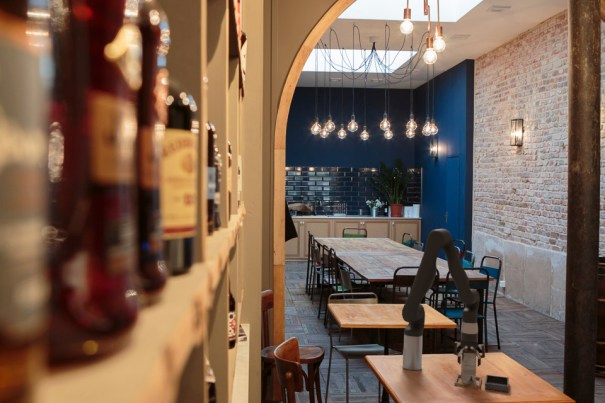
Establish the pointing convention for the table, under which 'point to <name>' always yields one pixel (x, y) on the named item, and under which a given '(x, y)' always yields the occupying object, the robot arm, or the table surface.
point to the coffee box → (468, 367)
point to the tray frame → (468, 384)
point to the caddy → (497, 383)
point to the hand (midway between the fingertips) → (469, 365)
